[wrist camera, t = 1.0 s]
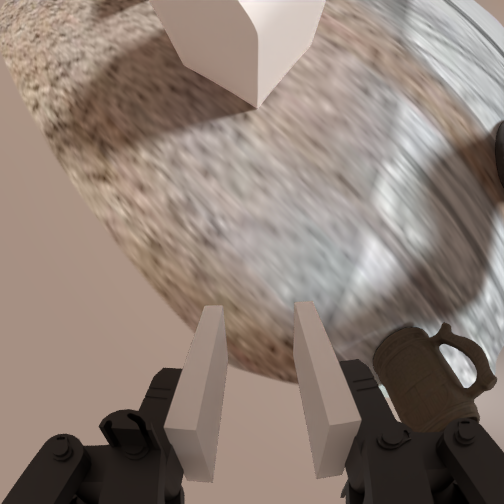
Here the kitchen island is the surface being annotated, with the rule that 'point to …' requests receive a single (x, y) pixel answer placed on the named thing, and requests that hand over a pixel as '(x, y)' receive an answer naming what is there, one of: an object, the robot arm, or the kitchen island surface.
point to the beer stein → (430, 378)
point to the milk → (240, 39)
